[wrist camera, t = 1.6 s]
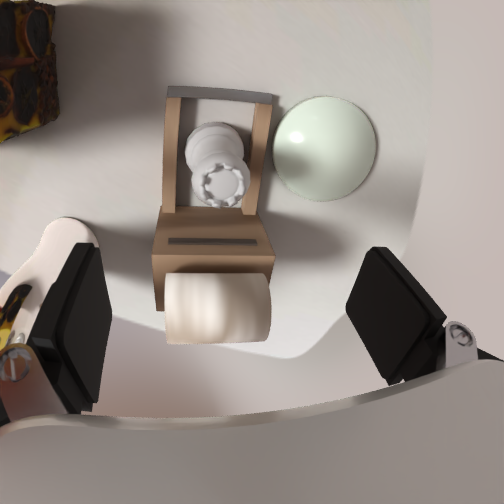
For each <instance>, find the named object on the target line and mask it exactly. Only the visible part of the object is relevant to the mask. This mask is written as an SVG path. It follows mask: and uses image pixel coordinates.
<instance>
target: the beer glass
mask: <svg viewBox="0 0 504 504" xmlns="http://www.w3.org/2000/svg"><path fill="white" fill-rule="evenodd" d="M78 242H84V243H93V244H94V246H95V247H98V248H99V245H98V242H97V239H96V237H95V235H94V234H93V232H92V231H91V230H90V229H89V228H88V227H87V226H86V225H85V224H83V223H82V222H80V221H78V220H76V219H73V218H66V217H64V218H58V219H55V220H53V221H52V222H51V223H49V224H48V226H47V227H46V228H45V230H44V232H43V235H42V238H41V240H40V243H39V245H38V247H37V249H36V250H35V252H34V253H33V254H32V255H31V256H30V258H29V259H28V260H27V261H26V262H25V263H24V264H23V265H22V266H21V267H20V268H19V269H18V270H17V271H16V272H15V273H14V274H13V275H12V276H11V277H10V278H9V279H8V280H7V282H6V283H5V284H4V285H3V287H2V288H1V289H0V351H1V349H3V348H4V347H6V346H7V345H10V344H13V343H23V344H26V342H27V339H28V336H29V334H30V331H31V329H32V326H33V324H34V322H35V319H36V317H37V315H38V312H39V310H40V308H41V306H42V303H43V301H44V299H45V297H46V295H47V293H48V290H49V288H50V286H51V285H52V283H54V282H56V279H57V277H58V275H59V273H60V271H61V269H62V268H63V266H64V264H65V262H66V260H67V258H68V256H69V254H70V252H71V251H72V249H73V247H74V245H75V244H76V243H78Z"/></svg>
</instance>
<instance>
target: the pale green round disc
mask: <svg viewBox="0 0 504 504" xmlns="http://www.w3.org/2000/svg"><path fill="white" fill-rule="evenodd" d="M375 150H376V141H375V134H374V131H373V128H372V126H371V123H370V121H369V120H368V118H367V117H366V115H365V114H364V113H363V112H362V111H361V110H360V109H359V108H358V107H356V106H355V105H353V104H352V103H350V102H348V101H345V100H342V99H339V98H335V97H329V96H319V97H313V98H309V99H306V100H304V101H302V102H300V103H298V104H296V105H295V106H294V107H292V108H291V109H290V110H289V111H288V112H287V113H286V114H285V115H284V116H283V118H282V119H281V121H280V122H279V124H278V126H277V128H276V131H275V133H274V137H273V141H272V158H273V163H274V166H275V169H276V171H277V173H278V175H279V176H280V178H281V179H282V181H283V182H284V183H285V185H286V186H287V187H288V188H289V189H290V190H291V191H292V192H294V193H295V194H297V195H298V196H300V197H302V198H305V199H308V200H311V201H320V202H324V201H331V200H336V199H338V198H341V197H343V196H345V195H347V194H349V193H350V192H352V191H353V190H354V189H356V188H357V187H358V186H359V185H360V184H361V183H362V182H363V180H364V179H365V178H366V176H367V175H368V173H369V171H370V169H371V167H372V164H373V161H374V157H375Z"/></svg>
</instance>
